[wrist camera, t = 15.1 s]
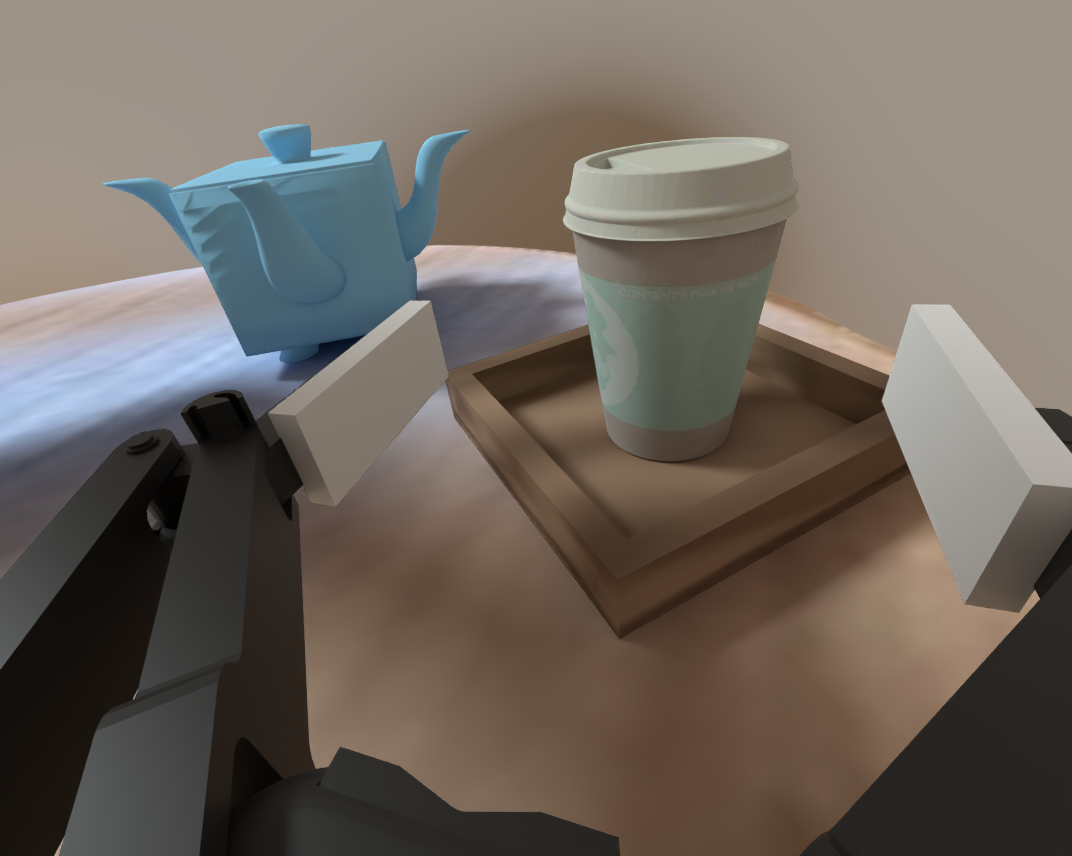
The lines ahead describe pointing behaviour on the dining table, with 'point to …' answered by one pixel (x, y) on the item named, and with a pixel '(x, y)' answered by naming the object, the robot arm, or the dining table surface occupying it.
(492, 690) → the dining table surface
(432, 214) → the teakettle
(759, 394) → the wooden tray
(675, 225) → the coffee cup
